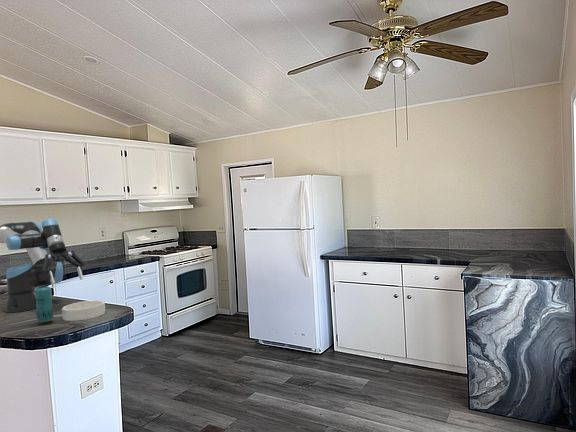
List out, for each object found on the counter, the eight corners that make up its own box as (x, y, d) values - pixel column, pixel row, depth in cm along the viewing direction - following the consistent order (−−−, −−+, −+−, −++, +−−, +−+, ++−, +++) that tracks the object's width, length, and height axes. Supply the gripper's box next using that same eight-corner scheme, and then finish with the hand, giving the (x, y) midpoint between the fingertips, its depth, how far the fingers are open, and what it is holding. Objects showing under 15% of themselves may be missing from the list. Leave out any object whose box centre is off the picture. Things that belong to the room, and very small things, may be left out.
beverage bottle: (38, 322, 191) (35, 279, 190) (55, 320, 193) (51, 277, 192) (35, 326, 185) (32, 281, 184) (52, 323, 187) (49, 279, 186)
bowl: (57, 317, 198) (56, 307, 198) (95, 308, 211) (94, 299, 211) (72, 323, 186) (71, 312, 186) (111, 313, 199) (110, 303, 199)
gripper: (31, 245, 206) (42, 282, 199) (83, 238, 224) (95, 273, 217) (28, 252, 210) (38, 289, 204) (79, 245, 229) (90, 279, 222)
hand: (67, 281), depth 211 cm, fingers open, 13 cm apart
